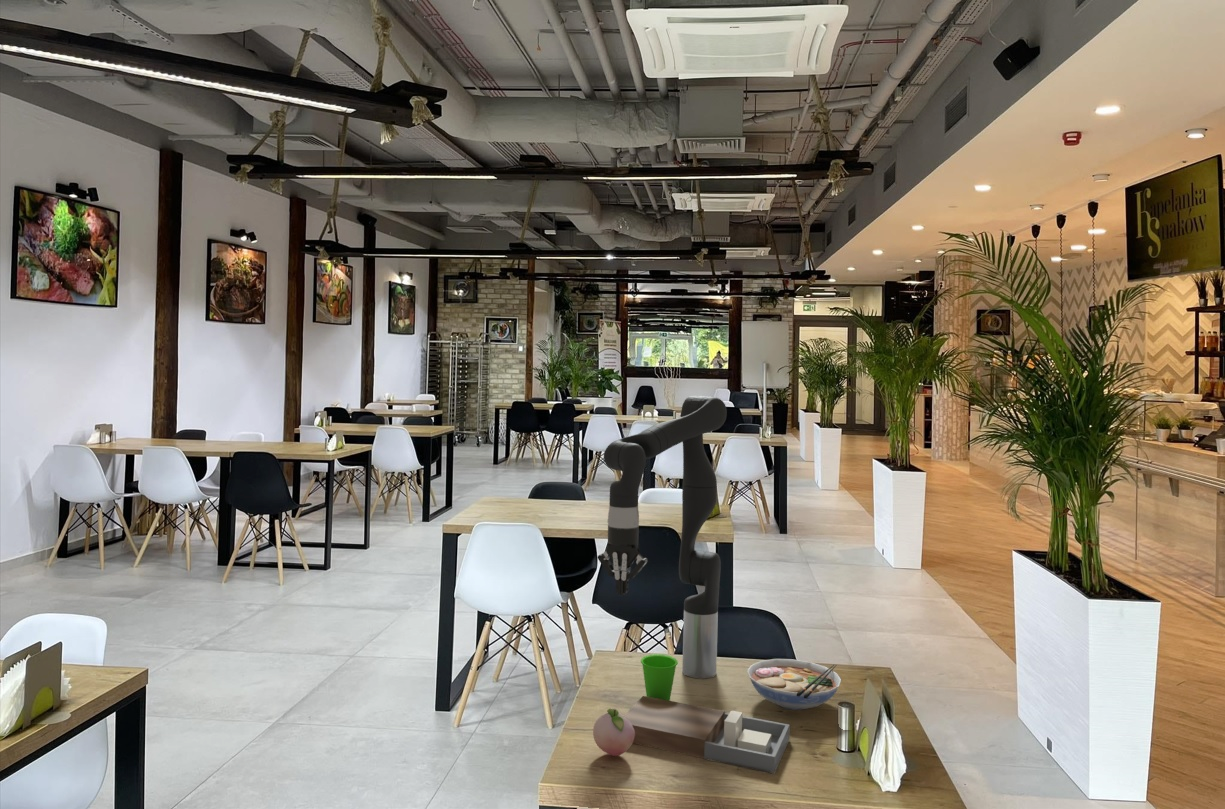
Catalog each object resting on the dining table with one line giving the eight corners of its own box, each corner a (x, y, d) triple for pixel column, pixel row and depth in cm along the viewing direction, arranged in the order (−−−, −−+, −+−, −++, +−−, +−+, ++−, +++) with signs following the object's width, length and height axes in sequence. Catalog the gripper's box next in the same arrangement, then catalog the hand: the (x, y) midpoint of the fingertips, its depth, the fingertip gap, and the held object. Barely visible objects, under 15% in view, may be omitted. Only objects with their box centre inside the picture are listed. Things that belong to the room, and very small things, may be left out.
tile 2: (771, 734, 174) (771, 745, 174) (744, 729, 176) (744, 740, 177) (765, 745, 169) (765, 757, 169) (737, 740, 171) (737, 751, 171)
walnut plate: (642, 712, 191) (643, 695, 191) (724, 728, 184) (724, 710, 183) (617, 739, 177) (617, 722, 176) (704, 758, 169) (705, 739, 169)
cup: (633, 707, 194) (634, 663, 193) (649, 695, 202) (650, 652, 201) (667, 716, 189) (668, 670, 189) (682, 702, 197) (683, 658, 197)
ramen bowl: (769, 678, 215) (770, 648, 214) (854, 699, 202) (855, 667, 201) (728, 709, 194) (729, 676, 194) (819, 735, 181) (821, 699, 181)
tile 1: (731, 710, 178) (742, 712, 177) (730, 736, 178) (741, 739, 177) (724, 720, 172) (735, 723, 171) (723, 748, 172) (735, 750, 172)
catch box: (724, 727, 184) (724, 712, 184) (789, 740, 178) (789, 724, 178) (704, 758, 169) (704, 742, 168) (774, 773, 163) (774, 756, 163)
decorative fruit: (586, 750, 171) (587, 704, 171) (620, 743, 175) (621, 698, 174) (603, 770, 163) (604, 722, 163) (639, 763, 166) (640, 715, 166)
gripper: (654, 524, 196) (652, 594, 196) (604, 519, 201) (603, 587, 201) (643, 529, 189) (641, 601, 189) (592, 524, 194) (590, 594, 194)
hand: (621, 594), depth 195 cm, fingers closed
